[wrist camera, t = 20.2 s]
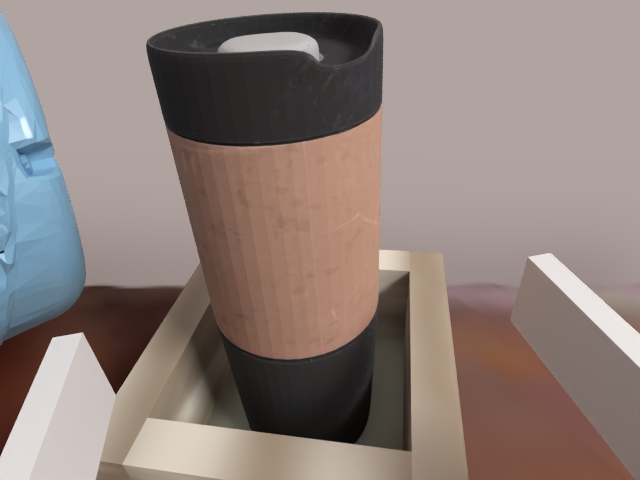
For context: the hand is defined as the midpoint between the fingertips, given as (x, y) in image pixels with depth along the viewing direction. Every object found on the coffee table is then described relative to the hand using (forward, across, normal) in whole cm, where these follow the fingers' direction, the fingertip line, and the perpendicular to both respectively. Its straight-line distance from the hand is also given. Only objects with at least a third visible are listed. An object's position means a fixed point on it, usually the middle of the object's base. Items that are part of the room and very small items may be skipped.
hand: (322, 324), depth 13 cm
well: (+6, 0, -14) cm, 15 cm away
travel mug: (+6, 0, -13) cm, 14 cm away
